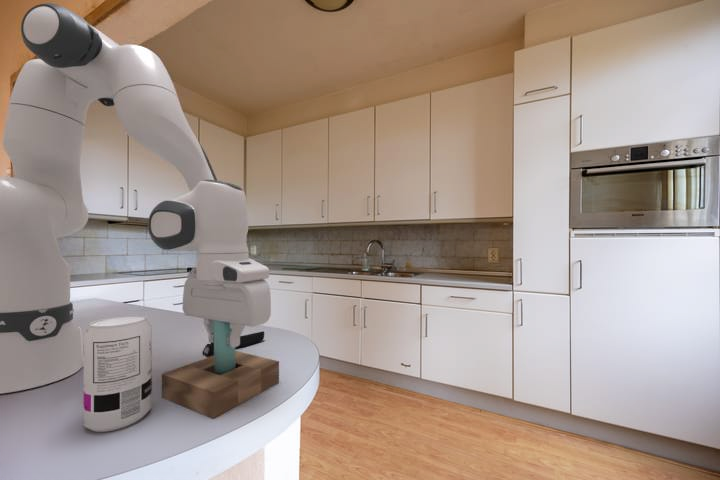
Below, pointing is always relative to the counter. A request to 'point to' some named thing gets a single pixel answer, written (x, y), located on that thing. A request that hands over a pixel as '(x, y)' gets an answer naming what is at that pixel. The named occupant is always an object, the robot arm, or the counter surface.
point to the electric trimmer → (244, 342)
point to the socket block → (219, 383)
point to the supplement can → (117, 372)
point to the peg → (223, 349)
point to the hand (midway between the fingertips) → (224, 344)
